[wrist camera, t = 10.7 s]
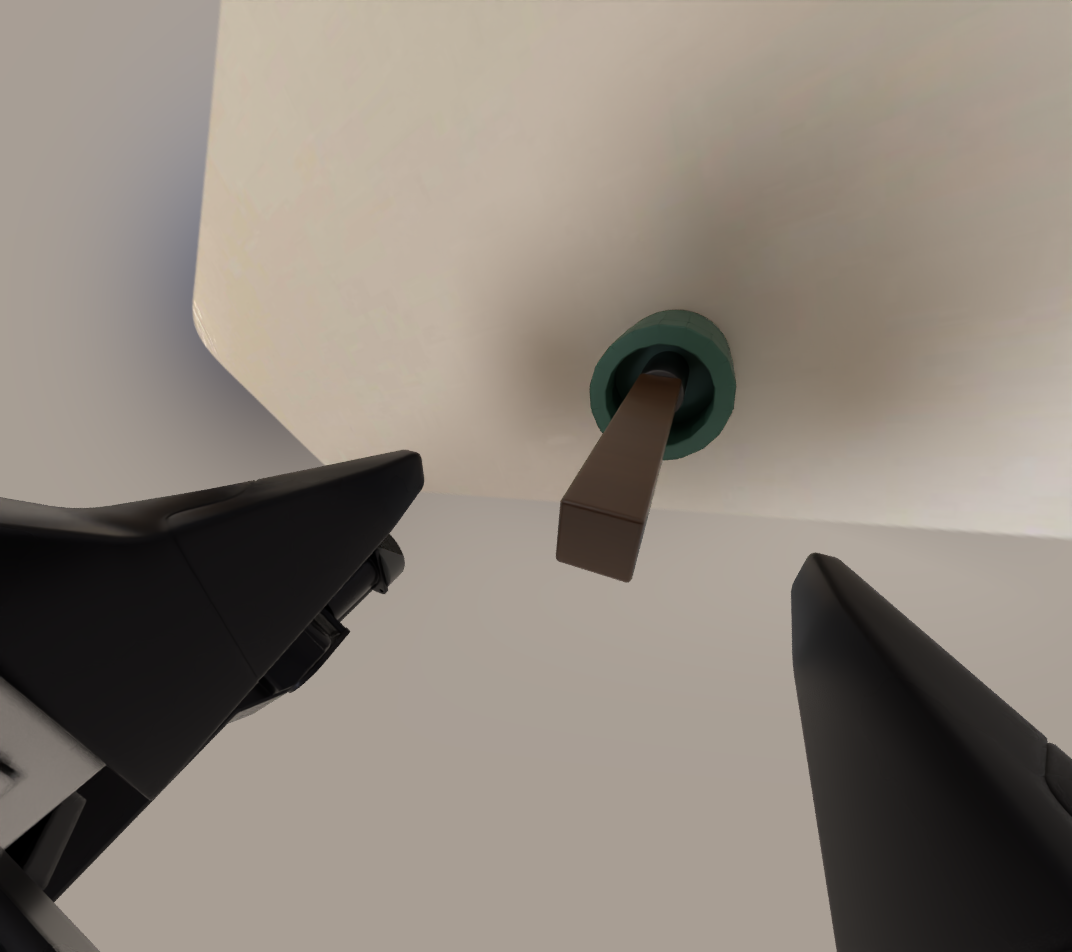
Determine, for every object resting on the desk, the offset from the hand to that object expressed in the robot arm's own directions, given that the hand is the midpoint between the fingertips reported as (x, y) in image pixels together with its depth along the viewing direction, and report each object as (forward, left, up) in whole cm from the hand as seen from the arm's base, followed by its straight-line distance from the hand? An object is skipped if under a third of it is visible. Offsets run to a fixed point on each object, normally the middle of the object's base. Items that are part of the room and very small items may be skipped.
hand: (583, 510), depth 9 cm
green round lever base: (0, -1, -12) cm, 12 cm away
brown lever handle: (0, -1, -12) cm, 12 cm away
